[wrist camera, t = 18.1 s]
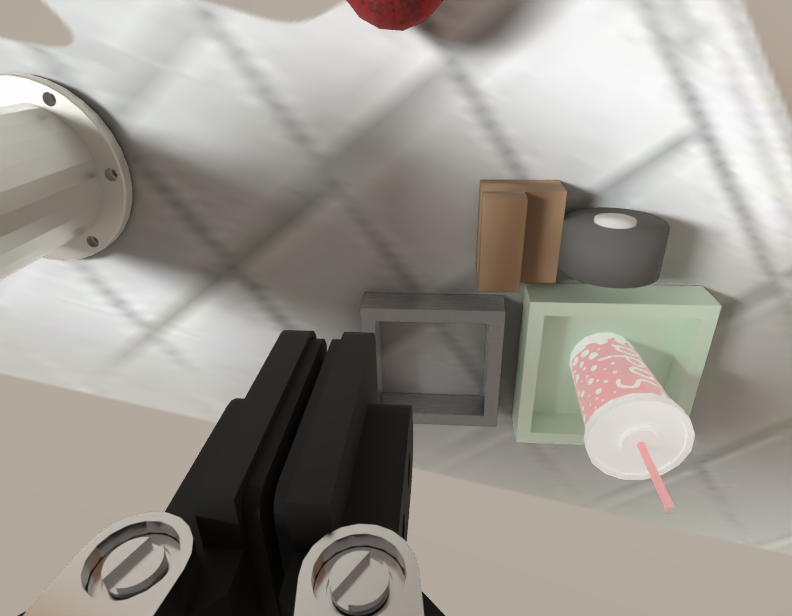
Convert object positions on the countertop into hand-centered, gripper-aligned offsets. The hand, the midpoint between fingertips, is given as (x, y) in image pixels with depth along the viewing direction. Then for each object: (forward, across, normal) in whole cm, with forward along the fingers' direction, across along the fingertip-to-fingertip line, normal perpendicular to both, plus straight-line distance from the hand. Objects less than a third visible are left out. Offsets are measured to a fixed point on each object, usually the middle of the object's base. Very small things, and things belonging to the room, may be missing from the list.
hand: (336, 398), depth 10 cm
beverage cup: (+26, -14, +16) cm, 34 cm away
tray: (+27, -14, +16) cm, 34 cm away
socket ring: (+27, -1, +16) cm, 31 cm away
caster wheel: (+27, -12, +6) cm, 30 cm away
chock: (+27, -7, +6) cm, 28 cm away
